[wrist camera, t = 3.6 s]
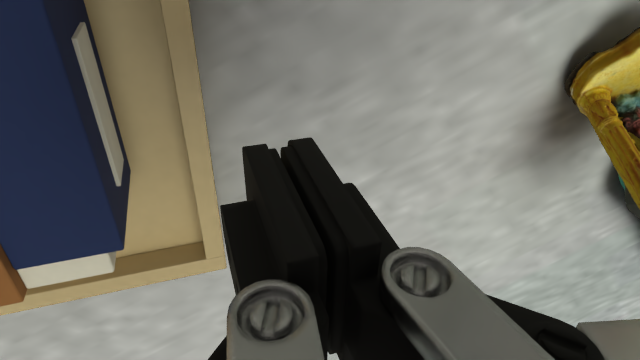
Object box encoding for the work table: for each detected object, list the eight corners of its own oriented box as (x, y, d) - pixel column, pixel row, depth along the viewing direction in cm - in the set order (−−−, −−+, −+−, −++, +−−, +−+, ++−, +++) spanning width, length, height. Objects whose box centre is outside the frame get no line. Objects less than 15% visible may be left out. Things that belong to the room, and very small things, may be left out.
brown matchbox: (-139, -157, 12) (-328, -185, 7) (48, -147, 13) (-9, -166, 9) (31, 207, 19) (-9, 309, 15) (139, 191, 21) (135, 280, 16)
